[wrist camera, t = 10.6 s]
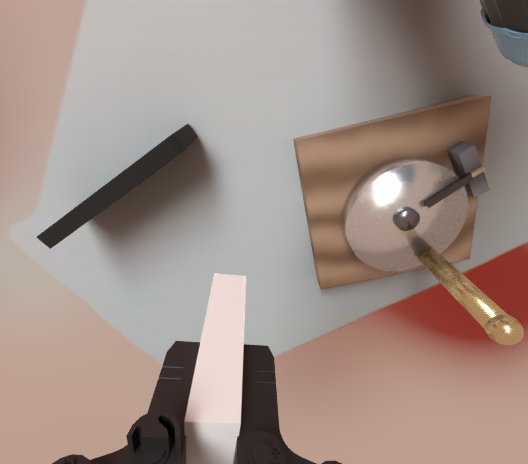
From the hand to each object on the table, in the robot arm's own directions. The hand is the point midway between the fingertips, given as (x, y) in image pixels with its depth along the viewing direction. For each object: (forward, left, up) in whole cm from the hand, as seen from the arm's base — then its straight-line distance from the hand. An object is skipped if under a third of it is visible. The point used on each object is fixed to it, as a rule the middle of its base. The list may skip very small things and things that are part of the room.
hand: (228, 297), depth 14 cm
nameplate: (+4, -14, -29) cm, 33 cm away
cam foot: (+4, +23, -26) cm, 35 cm away
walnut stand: (+4, +22, -29) cm, 37 cm away
